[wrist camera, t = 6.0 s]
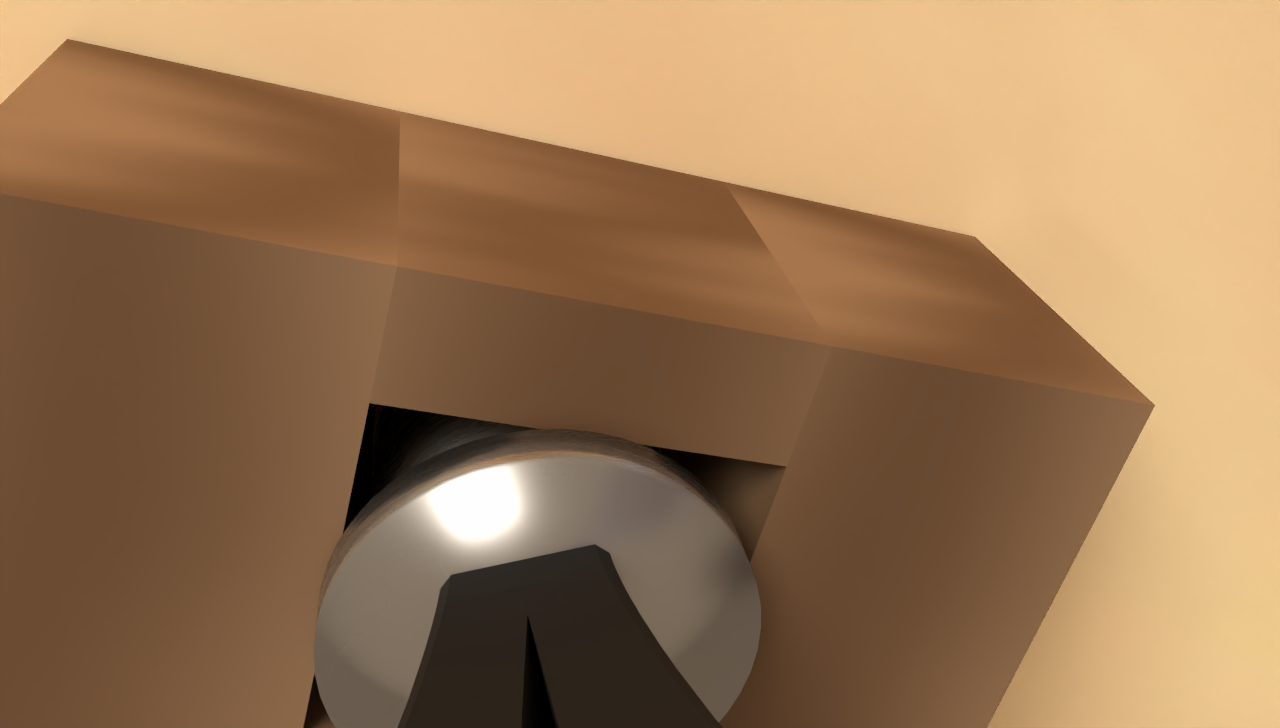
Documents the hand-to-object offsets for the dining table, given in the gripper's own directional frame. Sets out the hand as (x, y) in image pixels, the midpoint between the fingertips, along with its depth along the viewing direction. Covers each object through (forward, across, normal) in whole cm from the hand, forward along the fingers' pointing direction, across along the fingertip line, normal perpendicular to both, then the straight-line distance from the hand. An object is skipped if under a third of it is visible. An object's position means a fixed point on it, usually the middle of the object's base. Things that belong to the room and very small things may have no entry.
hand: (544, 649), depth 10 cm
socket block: (+5, +3, +6) cm, 8 cm away
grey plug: (+4, 0, 0) cm, 4 cm away
